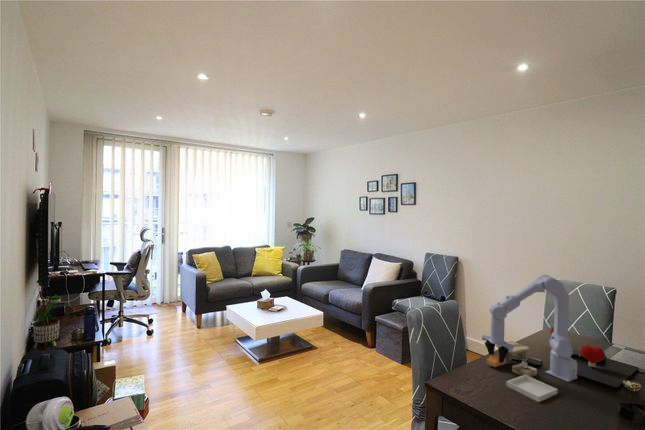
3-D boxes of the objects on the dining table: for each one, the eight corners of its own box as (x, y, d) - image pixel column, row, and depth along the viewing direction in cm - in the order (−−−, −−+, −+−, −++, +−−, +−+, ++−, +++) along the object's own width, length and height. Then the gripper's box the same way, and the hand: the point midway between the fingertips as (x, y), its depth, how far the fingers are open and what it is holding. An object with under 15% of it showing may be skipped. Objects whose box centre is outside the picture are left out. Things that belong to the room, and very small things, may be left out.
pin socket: (536, 374, 151) (537, 369, 151) (527, 378, 148) (527, 372, 148) (521, 368, 157) (521, 362, 157) (512, 371, 154) (512, 365, 154)
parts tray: (557, 393, 136) (557, 389, 136) (538, 402, 129) (538, 396, 129) (524, 379, 147) (524, 374, 147) (506, 386, 141) (506, 381, 141)
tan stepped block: (495, 367, 155) (495, 359, 155) (486, 363, 159) (486, 355, 159) (506, 363, 159) (506, 356, 159) (497, 359, 163) (497, 352, 163)
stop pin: (527, 373, 152) (528, 360, 152) (525, 374, 151) (525, 361, 151) (523, 371, 154) (523, 358, 154) (520, 372, 153) (521, 359, 153)
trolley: (528, 362, 164) (529, 347, 164) (511, 368, 157) (511, 352, 157) (510, 355, 172) (511, 341, 171) (493, 360, 165) (493, 345, 165)
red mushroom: (582, 368, 158) (583, 347, 158) (577, 362, 165) (578, 342, 165) (607, 372, 155) (608, 351, 155) (601, 366, 161) (602, 345, 161)
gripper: (478, 327, 163) (477, 355, 163) (506, 337, 150) (505, 368, 151) (487, 325, 166) (486, 352, 167) (516, 335, 154) (515, 365, 154)
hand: (496, 360), depth 159 cm, fingers closed on tan stepped block, 4 cm apart
